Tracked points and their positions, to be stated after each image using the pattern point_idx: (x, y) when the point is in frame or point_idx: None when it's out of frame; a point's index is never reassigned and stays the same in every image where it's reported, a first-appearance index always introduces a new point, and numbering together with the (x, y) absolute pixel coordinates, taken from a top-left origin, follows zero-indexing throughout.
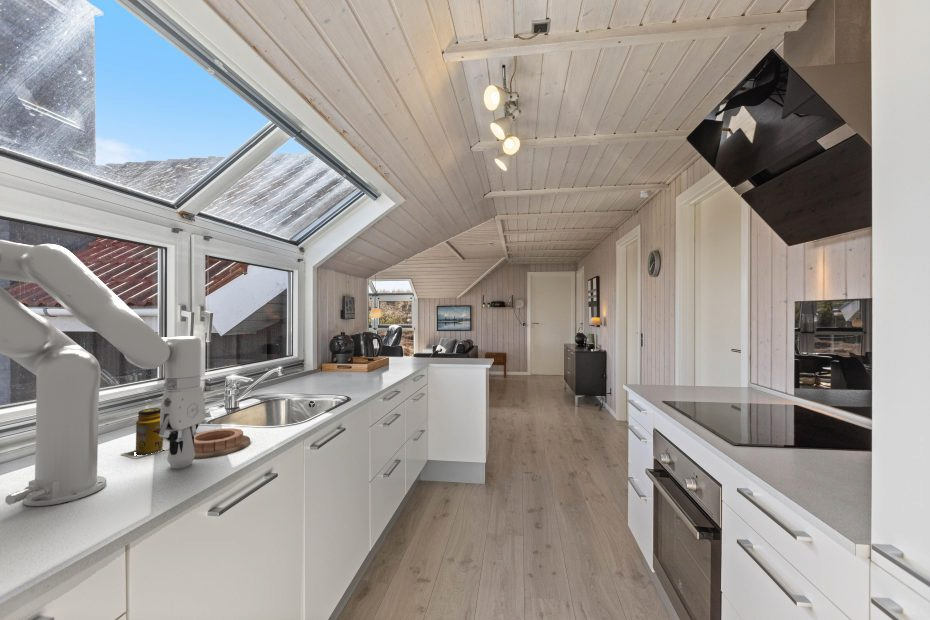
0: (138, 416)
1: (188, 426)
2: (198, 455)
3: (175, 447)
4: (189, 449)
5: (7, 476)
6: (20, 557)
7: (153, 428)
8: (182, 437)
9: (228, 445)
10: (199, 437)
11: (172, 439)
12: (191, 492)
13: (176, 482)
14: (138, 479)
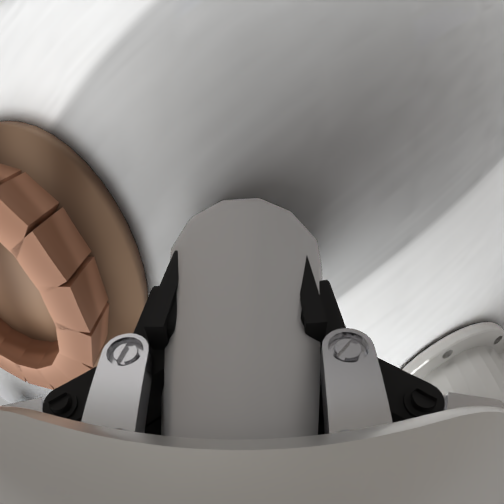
0: None
1: (332, 451)
2: (128, 245)
3: (337, 315)
4: (256, 237)
5: None
6: None
7: None
8: (299, 359)
9: (3, 171)
10: (30, 358)
11: (393, 374)
12: (500, 5)
13: (447, 109)
14: (399, 298)
